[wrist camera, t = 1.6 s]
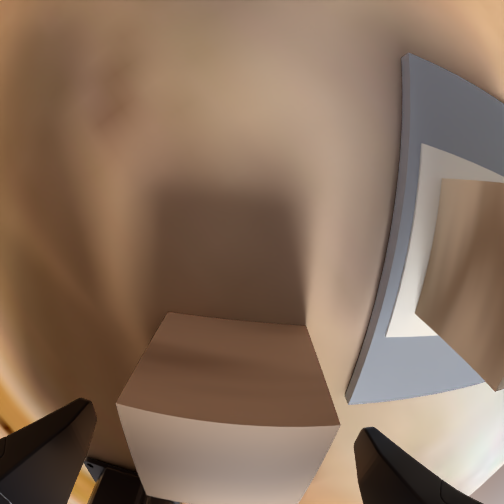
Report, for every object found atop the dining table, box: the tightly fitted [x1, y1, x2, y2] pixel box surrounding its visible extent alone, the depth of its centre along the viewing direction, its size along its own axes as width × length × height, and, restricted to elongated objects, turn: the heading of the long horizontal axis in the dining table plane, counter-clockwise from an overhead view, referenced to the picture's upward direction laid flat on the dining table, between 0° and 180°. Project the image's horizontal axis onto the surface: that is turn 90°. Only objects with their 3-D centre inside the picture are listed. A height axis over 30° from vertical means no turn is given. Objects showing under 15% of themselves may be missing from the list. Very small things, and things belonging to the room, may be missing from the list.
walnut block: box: [116, 312, 340, 504], centre depth 8 cm, size 5×5×5 cm
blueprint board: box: [345, 53, 504, 405], centre depth 9 cm, size 14×10×1 cm
